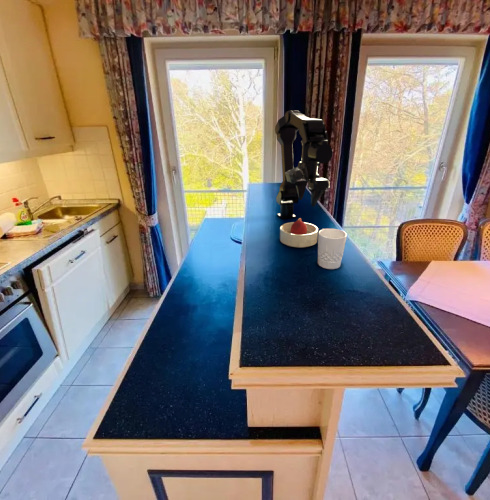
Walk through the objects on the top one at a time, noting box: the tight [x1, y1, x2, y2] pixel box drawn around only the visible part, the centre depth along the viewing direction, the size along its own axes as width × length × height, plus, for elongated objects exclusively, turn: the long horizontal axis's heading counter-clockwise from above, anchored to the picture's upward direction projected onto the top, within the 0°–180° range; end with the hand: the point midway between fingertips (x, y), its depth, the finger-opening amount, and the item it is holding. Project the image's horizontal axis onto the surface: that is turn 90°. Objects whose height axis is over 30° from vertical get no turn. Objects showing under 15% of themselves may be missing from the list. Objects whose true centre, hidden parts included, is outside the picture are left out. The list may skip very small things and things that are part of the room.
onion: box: [290, 217, 307, 235], centre depth 99 cm, size 6×6×8 cm
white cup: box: [317, 228, 348, 270], centre depth 82 cm, size 8×8×10 cm
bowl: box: [279, 221, 319, 248], centre depth 100 cm, size 13×13×5 cm
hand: (306, 202), depth 104 cm, fingers open, 9 cm apart
